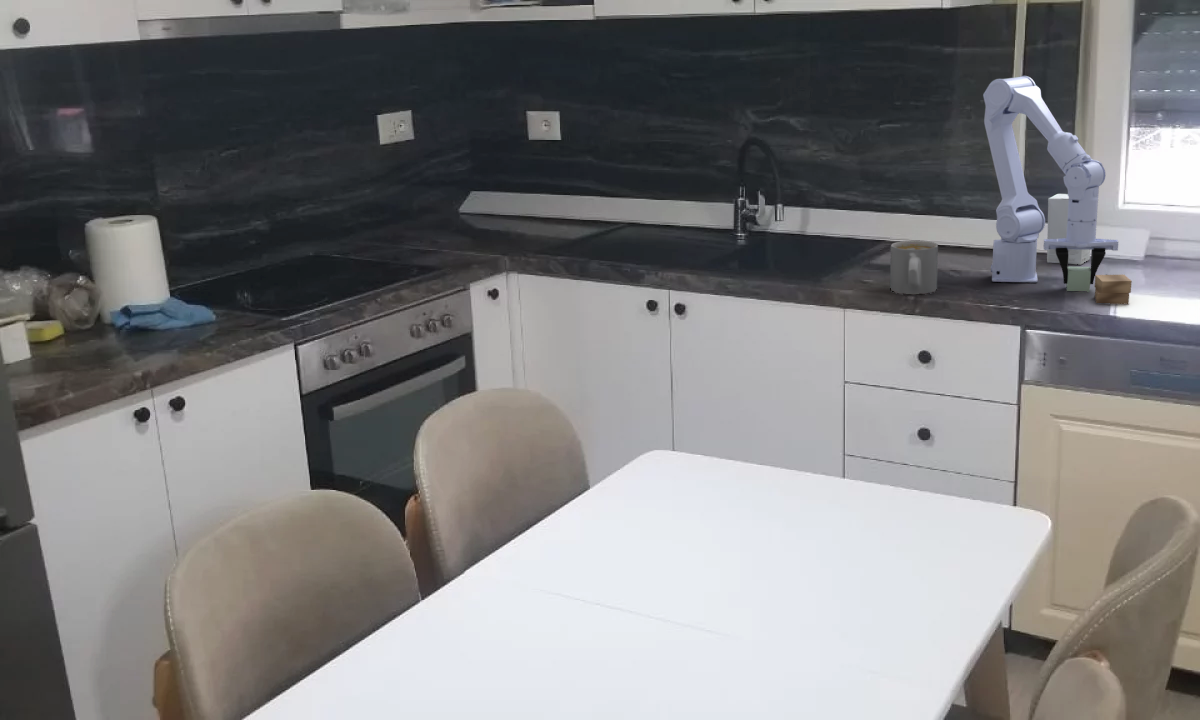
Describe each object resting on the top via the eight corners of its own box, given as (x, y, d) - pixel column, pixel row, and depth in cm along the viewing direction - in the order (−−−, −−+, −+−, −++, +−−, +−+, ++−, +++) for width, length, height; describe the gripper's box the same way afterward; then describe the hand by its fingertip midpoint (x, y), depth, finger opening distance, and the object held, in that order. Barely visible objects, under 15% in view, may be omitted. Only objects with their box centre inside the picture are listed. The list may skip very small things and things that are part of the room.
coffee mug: (896, 283, 265) (896, 239, 262) (940, 285, 261) (942, 241, 258) (881, 297, 254) (882, 251, 251) (928, 300, 249) (929, 253, 247)
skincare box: (1090, 260, 276) (1094, 194, 272) (1080, 266, 271) (1084, 198, 267) (1054, 257, 282) (1058, 192, 277) (1044, 262, 277) (1047, 196, 272)
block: (1067, 291, 250) (1068, 271, 248) (1066, 286, 254) (1067, 266, 252) (1089, 292, 248) (1090, 271, 247) (1088, 287, 252) (1089, 266, 251)
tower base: (1096, 305, 239) (1097, 293, 239) (1094, 298, 245) (1095, 286, 244) (1128, 306, 237) (1129, 294, 237) (1126, 298, 243) (1126, 287, 242)
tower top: (1101, 293, 238) (1102, 281, 237) (1094, 286, 244) (1095, 275, 243) (1130, 292, 237) (1131, 280, 237) (1123, 286, 243) (1124, 274, 242)
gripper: (1045, 223, 245) (1042, 286, 249) (1121, 223, 241) (1116, 287, 245) (1044, 217, 252) (1041, 279, 256) (1118, 217, 247) (1114, 280, 251)
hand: (1078, 282), depth 250 cm, fingers closed on block, 4 cm apart
